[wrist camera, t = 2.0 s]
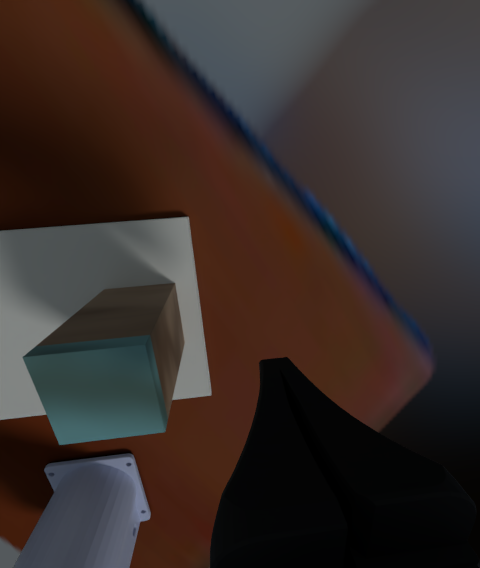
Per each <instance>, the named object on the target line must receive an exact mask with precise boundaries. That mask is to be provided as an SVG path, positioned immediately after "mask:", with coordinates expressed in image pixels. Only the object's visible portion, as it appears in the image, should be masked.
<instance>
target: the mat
mask: <svg viewBox="0 0 480 568" xmlns="http://www.w3.org/2000/svg"><path fill="white" fill-rule="evenodd" d="M169 283H175V285H176V291H177V297H178V303H179V309H180V316H181V322H182V328H183V334H184V340H185V344H184V349H183V353H182V358H181V362H180V367H179V371H178V376H177V380H176V385H175V389H174V394H173V398H172V400H176V399H184V398H193V397H202V396H210V395H211V384H210V376H209V368H208V361H207V353H206V346H205V338H204V330H203V323H202V315H201V308H200V300H199V292H198V285H197V277H196V269H195V262H194V254H193V247H192V239H191V231H190V224H189V217H176V218H163V219H149V220H136V221H123V222H109V223H96V224H83V225H69V226H56V227H43V228H29V229H16V230H3V231H0V420H3V419H11V418H20V417H29V416H37V415H46V412H45V410H44V407H43V405H42V402H41V400H40V398H39V395H38V393H37V391H36V388H35V386H34V384H33V381H32V379H31V377H30V374H29V372H28V370H27V367H26V365H25V362H24V360H23V358H22V357H23V356H24V355H26V354H27V353H28V352H29V351H31V350H32V349H33V348H34V347H35V346H37V345H38V344H39V343H40V342H41V341H43V340H44V339H45V338H46V337H47V336H49V335H50V334H51V333H52V332H53V331H55V330H56V329H57V328H58V327H59V326H61V325H62V324H63V323H64V322H65V321H67V320H68V319H69V318H70V317H71V316H73V315H74V314H75V313H76V312H77V311H79V310H80V309H81V308H82V307H83V306H85V305H86V304H87V303H88V302H90V301H91V300H92V299H93V298H94V297H96V296H97V295H98V294H99V293H100V292H102V291H103V290H104V289H113V288H124V287H135V286H146V285H158V284H169Z"/></svg>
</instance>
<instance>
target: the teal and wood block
mask: <svg viewBox="0 0 480 568" xmlns="http://www.w3.org/2000/svg"><path fill="white" fill-rule="evenodd" d="M184 344H185V340H184V334H183V328H182V322H181V316H180V309H179V303H178V297H177V291H176V285H175V283H169V284H158V285H146V286H135V287H124V288H113V289H104V290H103V291H102V292H100V293H99V294H98V295H97V296H96V297H94V298H93V299H92V300H91V301H90V302H88V303H87V304H86V305H85V306H83V307H82V308H81V309H80V310H79V311H77V312H76V313H75V314H74V315H73V316H71V317H70V318H69V319H68V320H67V321H65V322H64V323H63V324H62V325H61V326H59V327H58V328H57V329H56V330H55V331H53V332H52V333H51V334H50V335H49V336H47V337H46V338H45V339H44V340H43V341H41V342H40V343H39V344H38V345H37V346H35V347H34V348H33V349H32V350H31V351H29V352H28V353H27V354H26V355H24V356H23V357H22V358H23V360H24V362H25V365H26V367H27V370H28V372H29V374H30V377H31V379H32V381H33V384H34V386H35V388H36V391H37V393H38V395H39V398H40V400H41V402H42V405H43V407H44V410H45V412H46V414H47V417H48V419H49V421H50V424H51V426H52V428H53V431H54V433H55V435H56V438H57V440H58V442H59V445H64V444H72V443H80V442H88V441H96V440H105V439H113V438H121V437H129V436H137V435H145V434H154V433H162V432H165V430H166V425H167V421H168V416H169V412H170V407H171V403H172V398H173V394H174V389H175V385H176V380H177V376H178V371H179V367H180V362H181V358H182V353H183V349H184Z"/></svg>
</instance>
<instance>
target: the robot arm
mask: <svg viewBox="0 0 480 568" xmlns="http://www.w3.org/2000/svg"><path fill="white" fill-rule="evenodd" d="M259 367H260V392H259V397H258V402H257V408H256V412H255V416H254V419H253V423H252V426H251V429H250V432H249V435H248V438H247V441H246V444H245V446H244V449H243V451H242V453H241V456H240V458H239V460H238V463H237V465H236V467H235V470H234V472H233V474H232V476H231V478H230V479H229V481H228V483H227V485H226V487H225V489H224V491H223V493H222V496H221V500H220V504H219V507H218V511H217V515H216V519H215V523H214V528H213V533H212V539H211V548H210V568H479V567H478V566H477V564H478V562H479V559H478V556H477V555H476V553H475V552H474V551H473V549H472V548H471V546H470V545H469V543H468V542H467V539H468V537H469V535H470V532H471V529H472V527H473V525H474V522H475V517H476V507H475V503H474V502H473V500H472V499H471V498H470V497H469V496H468V495H467V493H466V492H465V491H464V490H463V488H462V487H461V486H460V485H459V483H458V482H457V481H456V480H455V478H454V477H453V476H452V475H451V474H450V473H449V472H448V471H447V470H446V469H445V468H444V467H443V465H441V464H439V463H437V462H435V461H432V460H430V459H428V458H426V457H424V456H422V455H420V454H418V453H415V452H413V451H411V450H409V449H407V448H405V447H403V446H401V445H399V444H398V443H396V442H394V441H392V440H390V439H388V438H387V437H385V436H383V435H381V434H380V433H378V432H376V431H375V430H373V429H371V428H370V427H368V426H367V425H365V424H363V423H362V422H360V421H359V420H357V419H356V418H354V417H353V416H351V415H350V414H349V413H347V412H346V411H345V410H343V409H342V408H340V407H339V406H338V405H337V404H335V403H334V402H333V401H332V400H331V399H329V398H328V397H327V396H326V395H325V394H324V393H322V392H321V391H320V390H319V389H318V388H317V387H316V386H315V385H314V384H313V383H312V382H311V381H310V380H309V379H308V378H307V377H306V376H305V375H304V374H303V373H302V372H301V371H300V370H299V369H298V368H297V367H296V366H295V365H294V364H293V363H292V362H291V360H290V359H289V358H287V357H284V358H275V359H265V360H261V361H260V362H259ZM44 471H45V473H46V475H47V478H48V480H49V482H50V484H51V486H52V488H53V490H54V494H53V496H52V497H51V499H50V501H49V503H48V505H47V506H46V508H45V510H44V512H43V514H42V516H41V517H40V519H39V521H38V523H37V525H36V526H35V528H34V530H33V532H32V534H31V536H30V537H29V539H28V541H27V543H26V545H25V547H24V548H23V550H22V552H21V554H20V556H19V557H18V559H17V561H16V563H15V565H14V567H13V568H129V567H130V563H131V558H132V554H133V550H134V546H135V541H136V537H137V533H138V529H139V525H140V521H146V520H149V519H150V515H151V513H150V509H149V506H148V502H147V499H146V496H145V492H144V489H143V485H142V482H141V479H140V475H139V472H138V468H137V465H136V462H135V458H134V456H133V455H132V454H130V453H127V454H119V455H111V456H103V457H95V458H87V459H79V460H71V461H63V462H55V463H49V464H47V465H46V467H45V469H44Z"/></svg>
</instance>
